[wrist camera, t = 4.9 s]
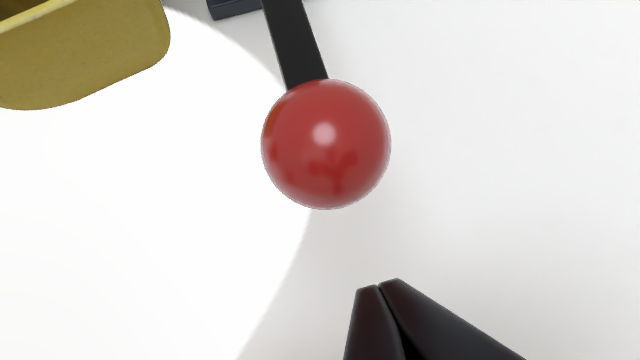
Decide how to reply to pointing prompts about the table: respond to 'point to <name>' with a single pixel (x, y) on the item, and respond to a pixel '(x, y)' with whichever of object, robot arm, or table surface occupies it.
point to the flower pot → (75, 47)
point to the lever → (319, 122)
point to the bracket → (231, 7)
